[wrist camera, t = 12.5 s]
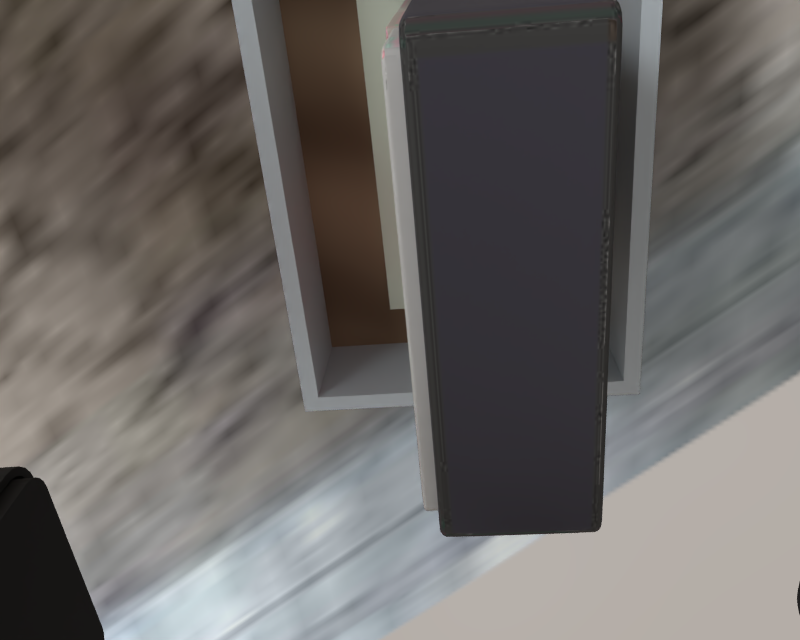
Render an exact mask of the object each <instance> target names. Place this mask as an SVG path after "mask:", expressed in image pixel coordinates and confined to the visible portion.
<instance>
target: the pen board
mask: <svg viewBox="0 0 800 640" xmlns="http://www.w3.org/2000/svg"><path fill="white" fill-rule="evenodd" d="M279 4H280V10H281V17H282V23H283V30H284V36H285V43H286V49H287V56H288V62H289V69H290V75H291V82H292V89H293V95H294V102H295V108H296V115H297V121H298V128H299V134H300V141H301V147H302V154H303V160H304V167H305V174H306V180H307V187H308V193H309V200H310V206H311V213H312V219H313V226H314V232H315V239H316V245H317V252H318V259H319V265H320V272H321V278H322V285H323V291H324V298H325V304H326V311H327V317H328V324H329V330H330V337H331V344H332V347H342V346H358V345H375V344H392V343H408V339H407V328H406V318H405V309H391V310H390V302H389V293H388V284H387V275H386V266H385V257H384V247H383V238H382V229H381V220H380V211H379V202H378V193H377V184H376V175H375V166H374V157H373V148H372V139H371V130H370V120H369V111H368V102H367V93H366V84H365V75H364V66H363V57H362V48H361V39H360V30H359V21H358V12H357V3H356V0H279Z"/></svg>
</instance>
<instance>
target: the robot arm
mask: <svg viewBox="0 0 800 640" xmlns="http://www.w3.org/2000/svg"><path fill="white" fill-rule="evenodd" d="M797 603H798V609H799V614H800V583H799V588H798V594H797ZM0 640H104V632H103V628H102V625H101V623H100V620H99V618H98V615H97V613H96V610H95V608H94V605H93V603H92V600H91V598H90V595H89V593H88V590H87V587H86V585H85V582H84V580H83V577H82V575H81V572H80V570H79V567H78V565H77V562H76V560H75V557H74V555H73V552H72V550H71V547H70V544H69V542H68V539H67V537H66V534H65V532H64V529H63V527H62V524H61V522H60V519H59V517H58V514H57V512H56V509H55V507H54V504H53V502H52V499H51V496H50V494H49V491H48V489H47V487H46V485H45V483H44V481H42V480H41V479H40V478H33V476H32V474H31V473H30V472H29V471H28V470H27V469H26V468H23V467H5V468H0Z"/></svg>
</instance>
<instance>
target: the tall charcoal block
mask: <svg viewBox="0 0 800 640" xmlns="http://www.w3.org/2000/svg"><path fill="white" fill-rule="evenodd" d="M622 29H623V21H622V11H621V6H620V4H619V2H618V1H617V0H405V1H404V2H403V4H402V5H401V6H400V8H399V9H398V12H397V13H396V14H395V15H394V17H393V18H392V20H391V21H390V22H389V24H388V25H387V27H386V42H385V43H384V45H383V48H382V55H381V63H382V75H383V86H384V97H385V107H386V118H387V128H388V139H389V149H390V160H391V170H392V181H393V192H394V202H395V213H396V223H397V234H398V244H399V255H400V265H401V276H402V286H403V297H404V307H405V318H406V328H407V339H408V349H409V360H410V370H411V381H412V391H413V402H414V412H415V423H416V433H417V444H418V454H419V465H420V475H421V486H422V495H423V503H424V508H425V510H427V511H433V510H438V511H439V523H440V531H441V533H442V534H443V535H444V536H446V537H460V536H495V535H525V534H554V533H579V532H596V531H598V530H599V529H600V527H601V522H602V505H603V482H604V458H605V434H606V411H607V387H608V363H609V339H610V316H611V292H612V268H613V244H614V221H615V197H616V173H617V149H618V126H619V102H620V78H621V54H622Z"/></svg>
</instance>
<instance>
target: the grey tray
mask: <svg viewBox="0 0 800 640" xmlns="http://www.w3.org/2000/svg"><path fill="white" fill-rule="evenodd" d="M617 1H618V2H619V4H620V6H621V11H622V21H623V29H622V54H621V78H620V102H619V126H618V149H617V173H616V197H615V221H614V244H613V268H612V292H611V316H610V339H609V363H608V387H607V396H612V395H631V394H640V379H641V362H642V345H643V329H644V312H645V295H646V278H647V261H648V244H649V227H650V210H651V194H652V177H653V160H654V143H655V126H656V109H657V92H658V75H659V59H660V42H661V25H662V8H663V0H617ZM232 6H233V11H234V17H235V22H236V28H237V33H238V39H239V45H240V50H241V56H242V61H243V67H244V73H245V78H246V84H247V89H248V95H249V100H250V106H251V112H252V117H253V123H254V128H255V134H256V139H257V145H258V151H259V156H260V162H261V167H262V173H263V179H264V184H265V190H266V195H267V201H268V206H269V212H270V218H271V223H272V229H273V234H274V240H275V246H276V251H277V257H278V262H279V268H280V273H281V279H282V285H283V290H284V296H285V301H286V307H287V313H288V318H289V324H290V329H291V335H292V340H293V346H294V352H295V357H296V363H297V368H298V374H299V379H300V385H301V391H302V396H303V402H304V407H305V412H307V411H326V410H345V409H364V408H383V407H402V406H414V402H413V391H412V381H411V370H410V360H409V349H408V343H392V344H375V345H358V346H342V347H332V344H331V337H330V330H329V324H328V317H327V311H326V304H325V298H324V291H323V285H322V278H321V272H320V265H319V259H318V252H317V245H316V239H315V232H314V226H313V219H312V213H311V206H310V200H309V193H308V187H307V180H306V174H305V167H304V160H303V154H302V147H301V141H300V134H299V128H298V121H297V115H296V108H295V102H294V95H293V89H292V82H291V75H290V69H289V62H288V56H287V49H286V43H285V36H284V30H283V23H282V17H281V10H280V4H279V0H232Z"/></svg>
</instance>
